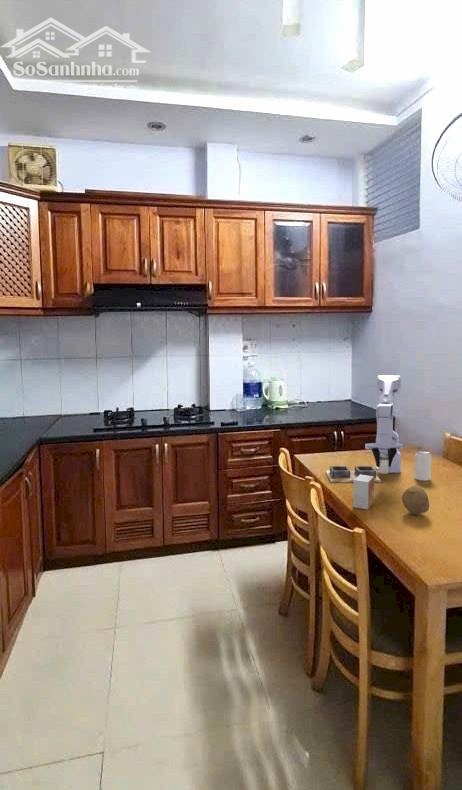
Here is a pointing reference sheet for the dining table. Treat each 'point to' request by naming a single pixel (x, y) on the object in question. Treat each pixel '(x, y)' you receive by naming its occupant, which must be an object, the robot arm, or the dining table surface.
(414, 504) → the natural sponge
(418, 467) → the can
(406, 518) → the dining table surface
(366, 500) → the small box
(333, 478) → the socket panel
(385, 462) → the small lidded jar
